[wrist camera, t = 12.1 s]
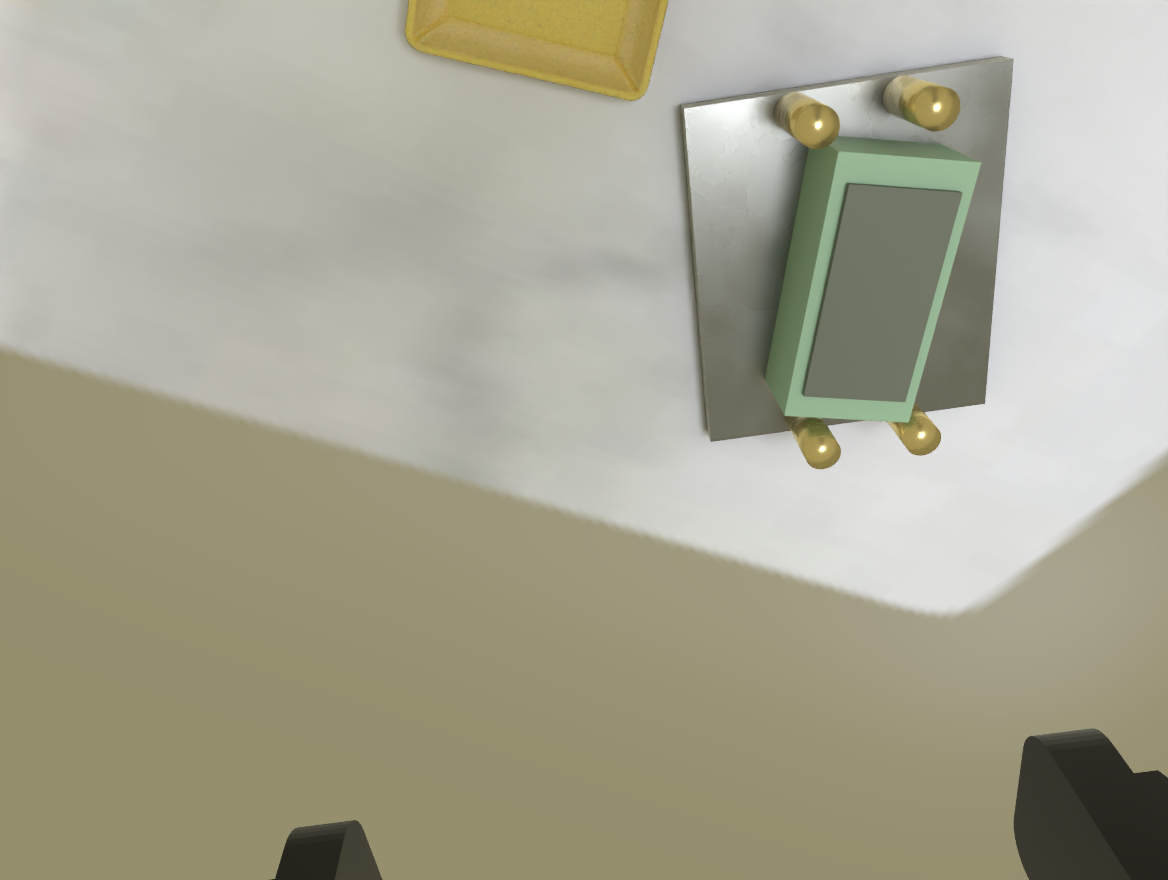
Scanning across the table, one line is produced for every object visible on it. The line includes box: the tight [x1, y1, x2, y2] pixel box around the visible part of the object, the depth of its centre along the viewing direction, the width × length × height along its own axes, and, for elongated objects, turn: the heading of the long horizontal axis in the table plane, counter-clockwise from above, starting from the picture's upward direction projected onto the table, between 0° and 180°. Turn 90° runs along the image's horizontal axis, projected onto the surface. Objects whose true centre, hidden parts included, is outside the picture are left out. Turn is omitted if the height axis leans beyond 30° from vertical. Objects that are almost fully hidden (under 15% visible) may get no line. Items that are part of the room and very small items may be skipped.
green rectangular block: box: [765, 136, 981, 423], centre depth 34 cm, size 10×5×4 cm, turn 175°
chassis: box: [680, 56, 1013, 469], centre depth 35 cm, size 14×12×4 cm
